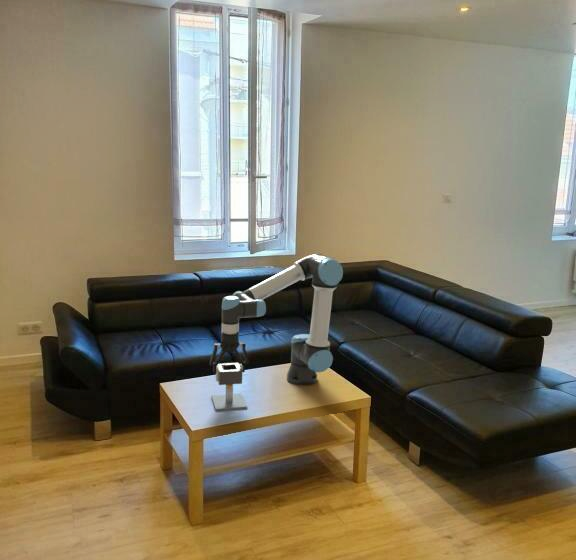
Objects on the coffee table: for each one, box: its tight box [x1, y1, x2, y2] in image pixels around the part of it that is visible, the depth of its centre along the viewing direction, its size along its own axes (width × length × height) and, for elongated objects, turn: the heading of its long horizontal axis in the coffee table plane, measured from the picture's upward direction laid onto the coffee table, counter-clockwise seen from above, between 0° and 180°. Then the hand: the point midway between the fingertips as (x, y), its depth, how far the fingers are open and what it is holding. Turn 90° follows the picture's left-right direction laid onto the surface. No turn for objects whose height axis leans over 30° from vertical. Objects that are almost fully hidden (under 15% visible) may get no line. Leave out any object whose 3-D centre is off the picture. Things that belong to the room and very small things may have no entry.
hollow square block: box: [217, 362, 243, 386], centre depth 256 cm, size 10×10×6 cm
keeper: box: [211, 384, 248, 412], centre depth 259 cm, size 14×14×9 cm
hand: (228, 379), depth 257 cm, fingers closed on hollow square block, 10 cm apart
